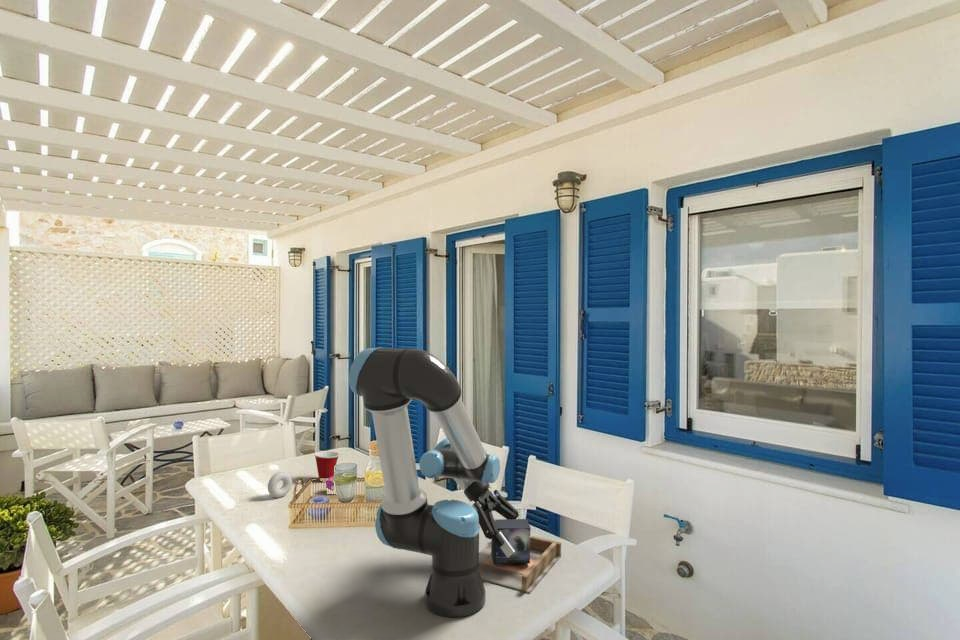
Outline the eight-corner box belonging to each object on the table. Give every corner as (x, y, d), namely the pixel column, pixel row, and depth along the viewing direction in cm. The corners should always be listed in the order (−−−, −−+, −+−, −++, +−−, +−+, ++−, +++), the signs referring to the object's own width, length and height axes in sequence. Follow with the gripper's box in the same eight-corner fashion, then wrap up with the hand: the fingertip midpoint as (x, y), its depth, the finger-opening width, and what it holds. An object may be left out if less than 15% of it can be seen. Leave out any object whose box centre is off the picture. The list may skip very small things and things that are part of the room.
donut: (288, 493, 204) (289, 468, 204) (293, 494, 202) (293, 469, 202) (265, 499, 196) (265, 474, 196) (270, 501, 194) (270, 475, 194)
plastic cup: (339, 483, 217) (340, 455, 217) (313, 485, 214) (313, 457, 214) (339, 475, 228) (339, 449, 228) (314, 477, 225) (314, 450, 225)
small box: (493, 565, 140) (493, 527, 140) (490, 555, 146) (491, 519, 147) (530, 564, 141) (531, 526, 141) (526, 553, 148) (526, 518, 148)
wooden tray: (529, 593, 128) (529, 578, 128) (456, 572, 139) (456, 558, 139) (561, 556, 149) (561, 542, 149) (495, 540, 160) (495, 528, 160)
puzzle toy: (326, 494, 202) (326, 480, 202) (330, 490, 208) (331, 476, 208) (340, 495, 202) (340, 481, 202) (344, 490, 208) (344, 476, 208)
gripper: (482, 480, 162) (527, 539, 154) (444, 502, 141) (493, 571, 134) (497, 466, 159) (543, 525, 151) (460, 486, 139) (511, 555, 131)
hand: (519, 546), depth 143 cm, fingers closed on small box, 10 cm apart
